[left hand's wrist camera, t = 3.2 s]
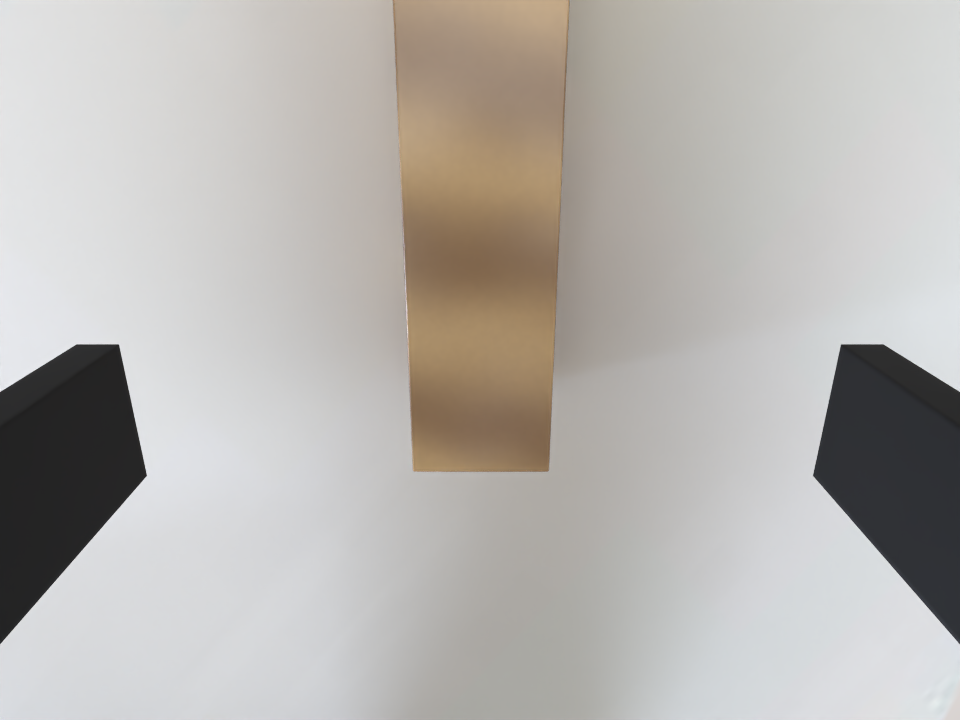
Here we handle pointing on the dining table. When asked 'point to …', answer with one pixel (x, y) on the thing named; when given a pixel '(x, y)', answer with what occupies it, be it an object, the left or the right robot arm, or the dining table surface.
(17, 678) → the dining table surface
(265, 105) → the dining table surface
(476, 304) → the beam
